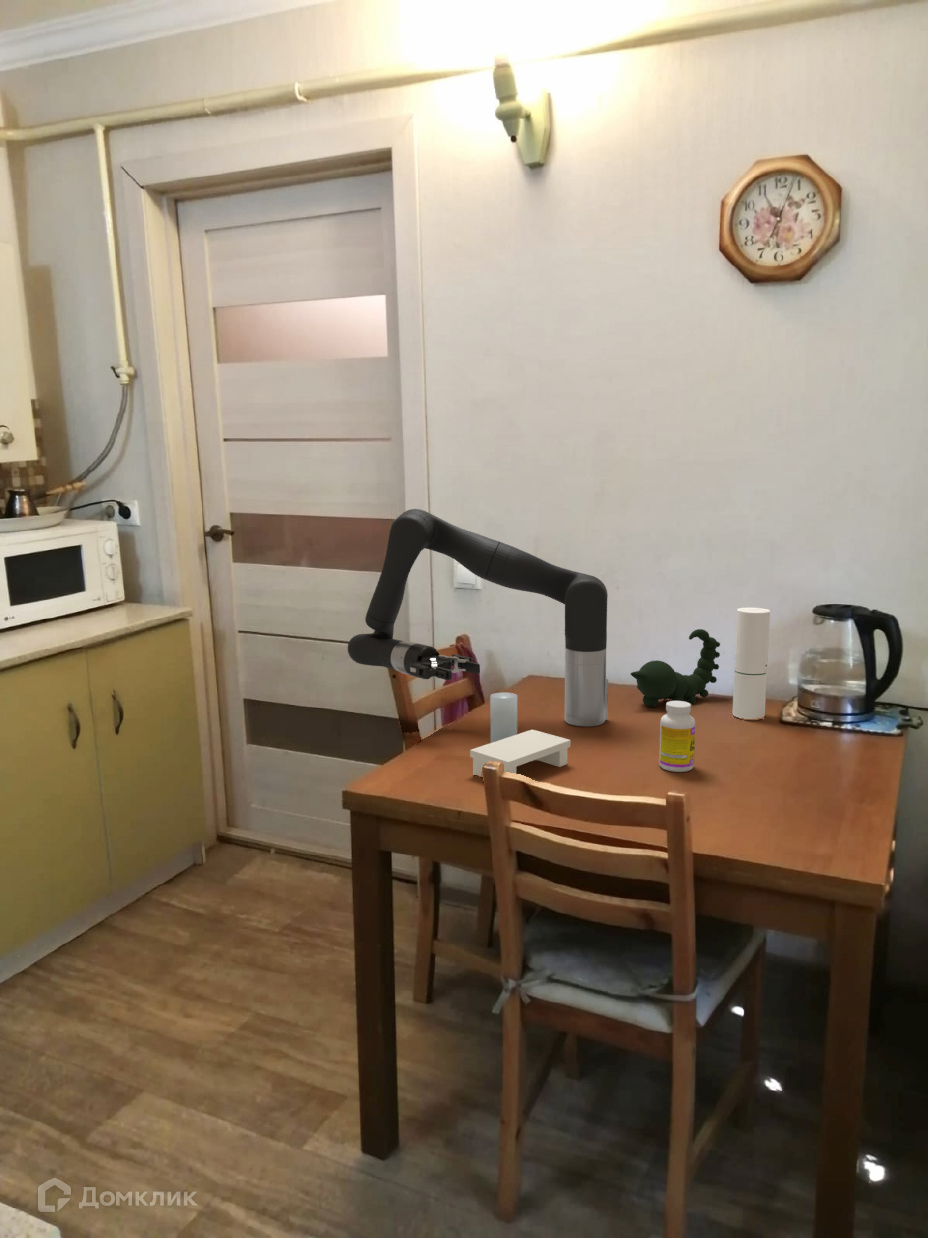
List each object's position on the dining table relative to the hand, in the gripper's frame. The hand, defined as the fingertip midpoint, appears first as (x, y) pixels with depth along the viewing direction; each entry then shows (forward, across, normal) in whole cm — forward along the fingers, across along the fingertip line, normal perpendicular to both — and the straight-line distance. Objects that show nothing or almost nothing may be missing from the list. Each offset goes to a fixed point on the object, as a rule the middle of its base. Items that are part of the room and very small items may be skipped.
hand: (464, 672), depth 199 cm
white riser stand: (+24, -8, +14) cm, 28 cm away
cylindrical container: (+38, +55, +13) cm, 68 cm away
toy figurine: (+18, +53, +14) cm, 58 cm away
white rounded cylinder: (+12, 0, +14) cm, 18 cm away
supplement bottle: (+44, +14, +14) cm, 49 cm away
